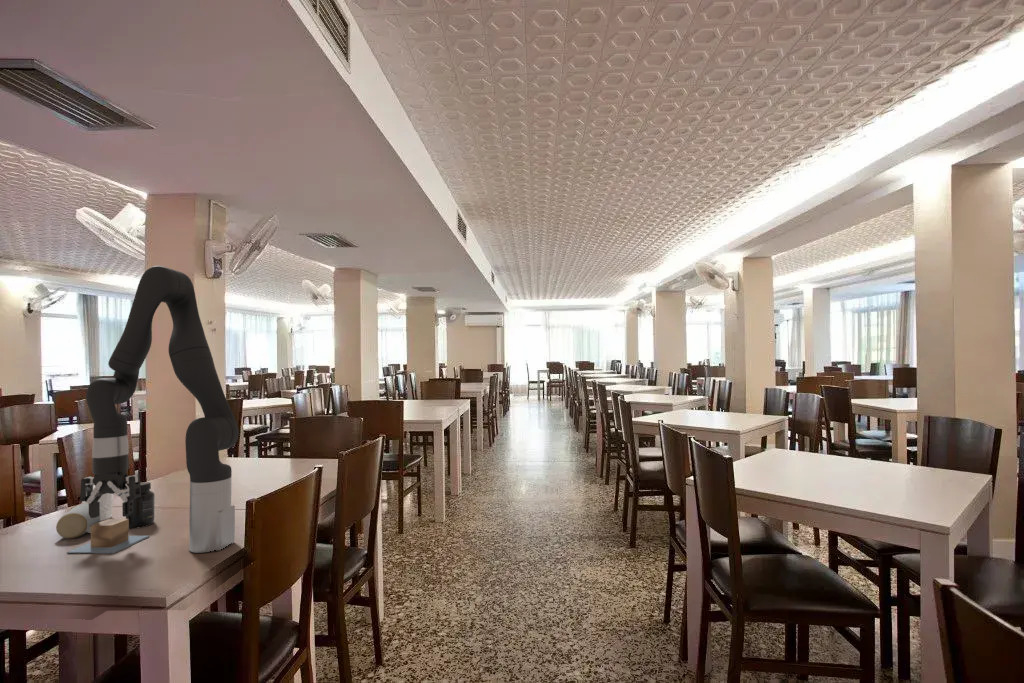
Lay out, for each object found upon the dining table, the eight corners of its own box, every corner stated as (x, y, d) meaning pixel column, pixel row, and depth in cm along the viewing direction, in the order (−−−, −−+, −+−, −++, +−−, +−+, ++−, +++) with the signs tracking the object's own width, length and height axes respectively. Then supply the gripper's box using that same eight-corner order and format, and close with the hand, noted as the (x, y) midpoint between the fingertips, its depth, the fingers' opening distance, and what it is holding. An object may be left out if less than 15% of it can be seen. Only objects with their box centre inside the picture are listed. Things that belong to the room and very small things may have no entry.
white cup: (99, 523, 152) (100, 489, 153) (73, 523, 152) (74, 489, 153) (120, 515, 160) (120, 483, 161) (95, 515, 160) (96, 483, 161)
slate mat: (149, 537, 139) (149, 535, 139) (113, 553, 127) (113, 551, 127) (106, 537, 139) (106, 535, 139) (66, 553, 127) (66, 552, 127)
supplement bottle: (154, 519, 155) (155, 480, 155) (153, 525, 149) (154, 484, 149) (126, 524, 151) (127, 483, 152) (124, 530, 145) (125, 487, 146)
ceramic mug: (53, 541, 136) (54, 512, 137) (67, 532, 144) (68, 504, 144) (101, 537, 140) (102, 508, 140) (112, 528, 148) (113, 501, 148)
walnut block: (128, 539, 135) (128, 518, 136) (111, 547, 130) (111, 525, 130) (108, 539, 136) (108, 519, 136) (90, 547, 130) (91, 525, 130)
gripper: (147, 450, 137) (148, 511, 136) (95, 452, 138) (95, 513, 137) (126, 455, 130) (126, 519, 129) (71, 457, 130) (71, 522, 129)
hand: (110, 516), depth 133 cm, fingers open, 8 cm apart
